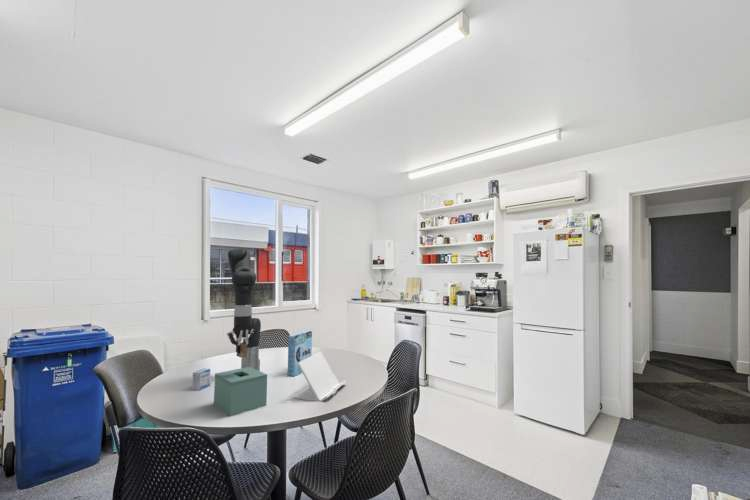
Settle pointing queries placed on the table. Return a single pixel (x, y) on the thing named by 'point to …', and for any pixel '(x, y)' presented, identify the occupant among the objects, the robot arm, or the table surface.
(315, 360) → the tablet stand
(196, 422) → the table surface
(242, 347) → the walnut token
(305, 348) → the gum box
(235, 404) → the box
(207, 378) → the medicine box
